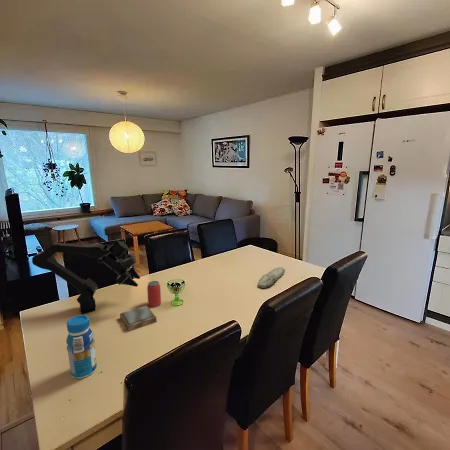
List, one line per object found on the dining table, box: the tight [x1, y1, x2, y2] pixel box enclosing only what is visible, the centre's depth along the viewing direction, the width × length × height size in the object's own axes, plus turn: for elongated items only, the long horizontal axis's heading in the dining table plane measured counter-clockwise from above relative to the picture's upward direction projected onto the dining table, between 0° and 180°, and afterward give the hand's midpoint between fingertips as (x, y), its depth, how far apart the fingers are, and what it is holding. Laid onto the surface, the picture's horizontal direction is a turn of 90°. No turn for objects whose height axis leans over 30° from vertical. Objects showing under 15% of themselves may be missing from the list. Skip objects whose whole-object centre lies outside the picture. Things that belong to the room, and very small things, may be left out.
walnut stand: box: [119, 305, 157, 332], centre depth 126 cm, size 13×13×3 cm
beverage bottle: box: [65, 314, 97, 379], centre depth 92 cm, size 8×8×20 cm
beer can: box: [146, 280, 162, 308], centre depth 139 cm, size 7×7×12 cm
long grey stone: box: [257, 266, 286, 289], centre depth 173 cm, size 35×5×10 cm
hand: (138, 282), depth 137 cm, fingers open, 9 cm apart
